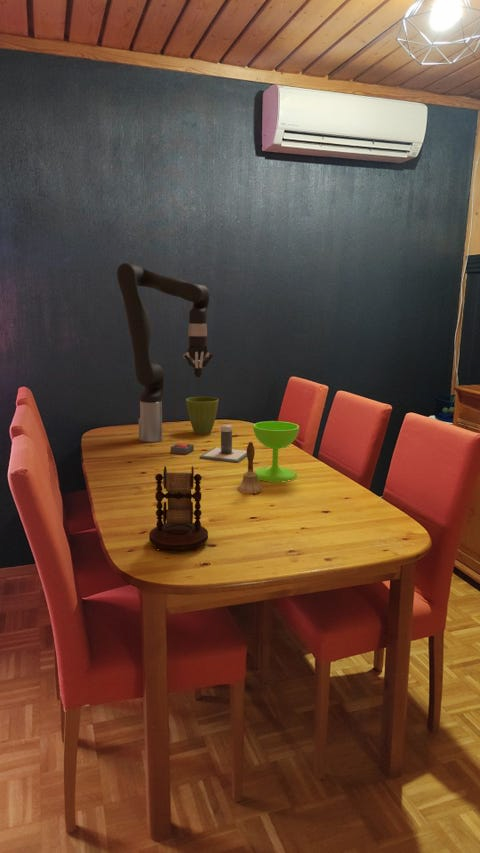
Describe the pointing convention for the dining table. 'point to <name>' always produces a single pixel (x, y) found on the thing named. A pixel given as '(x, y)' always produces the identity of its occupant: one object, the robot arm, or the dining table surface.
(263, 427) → the wineglass
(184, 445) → the button
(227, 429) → the canister
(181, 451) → the button base
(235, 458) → the board
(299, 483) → the dining table surface
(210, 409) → the flower pot
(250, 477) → the hand bell
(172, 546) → the scroll
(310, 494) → the dining table surface
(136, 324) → the robot arm
